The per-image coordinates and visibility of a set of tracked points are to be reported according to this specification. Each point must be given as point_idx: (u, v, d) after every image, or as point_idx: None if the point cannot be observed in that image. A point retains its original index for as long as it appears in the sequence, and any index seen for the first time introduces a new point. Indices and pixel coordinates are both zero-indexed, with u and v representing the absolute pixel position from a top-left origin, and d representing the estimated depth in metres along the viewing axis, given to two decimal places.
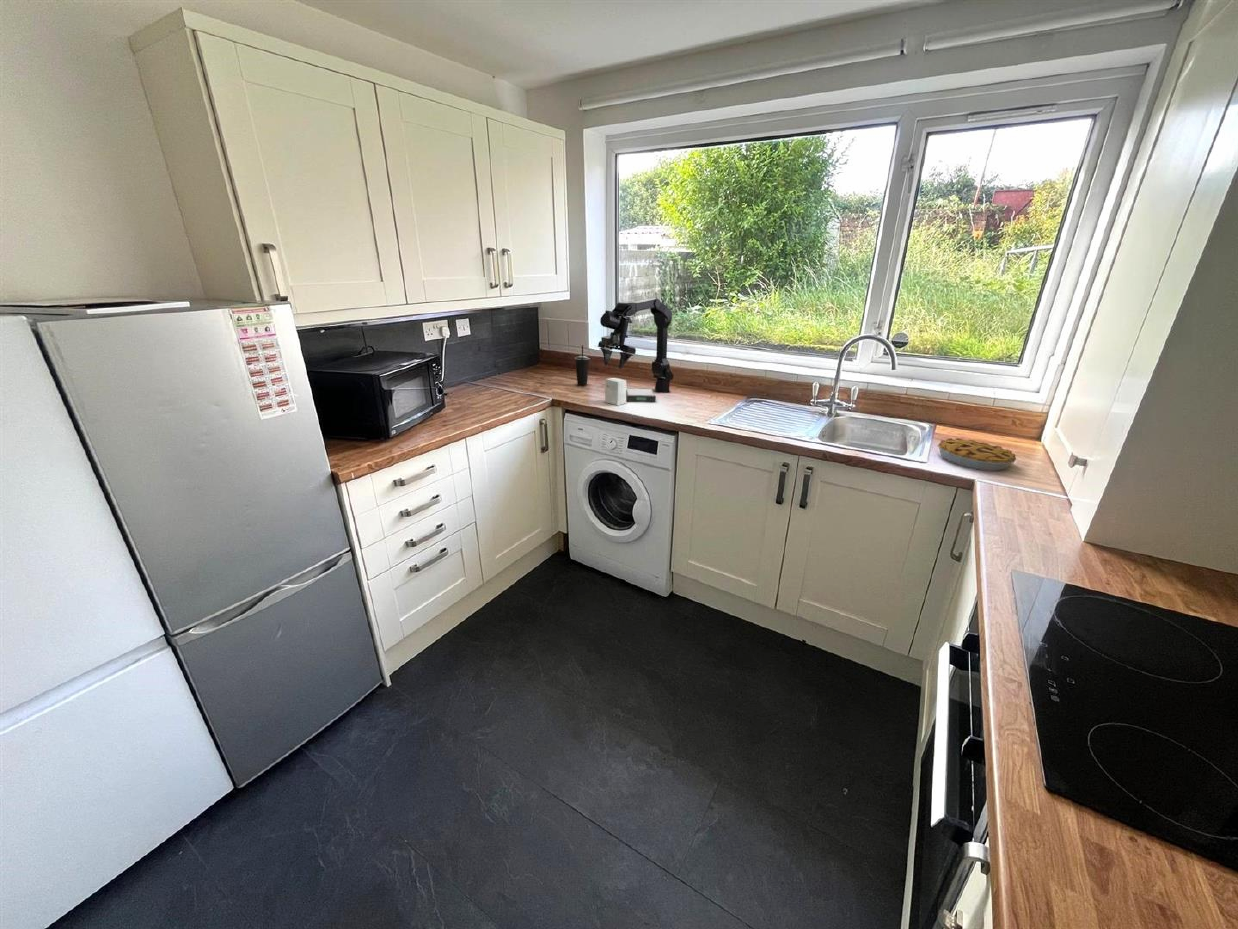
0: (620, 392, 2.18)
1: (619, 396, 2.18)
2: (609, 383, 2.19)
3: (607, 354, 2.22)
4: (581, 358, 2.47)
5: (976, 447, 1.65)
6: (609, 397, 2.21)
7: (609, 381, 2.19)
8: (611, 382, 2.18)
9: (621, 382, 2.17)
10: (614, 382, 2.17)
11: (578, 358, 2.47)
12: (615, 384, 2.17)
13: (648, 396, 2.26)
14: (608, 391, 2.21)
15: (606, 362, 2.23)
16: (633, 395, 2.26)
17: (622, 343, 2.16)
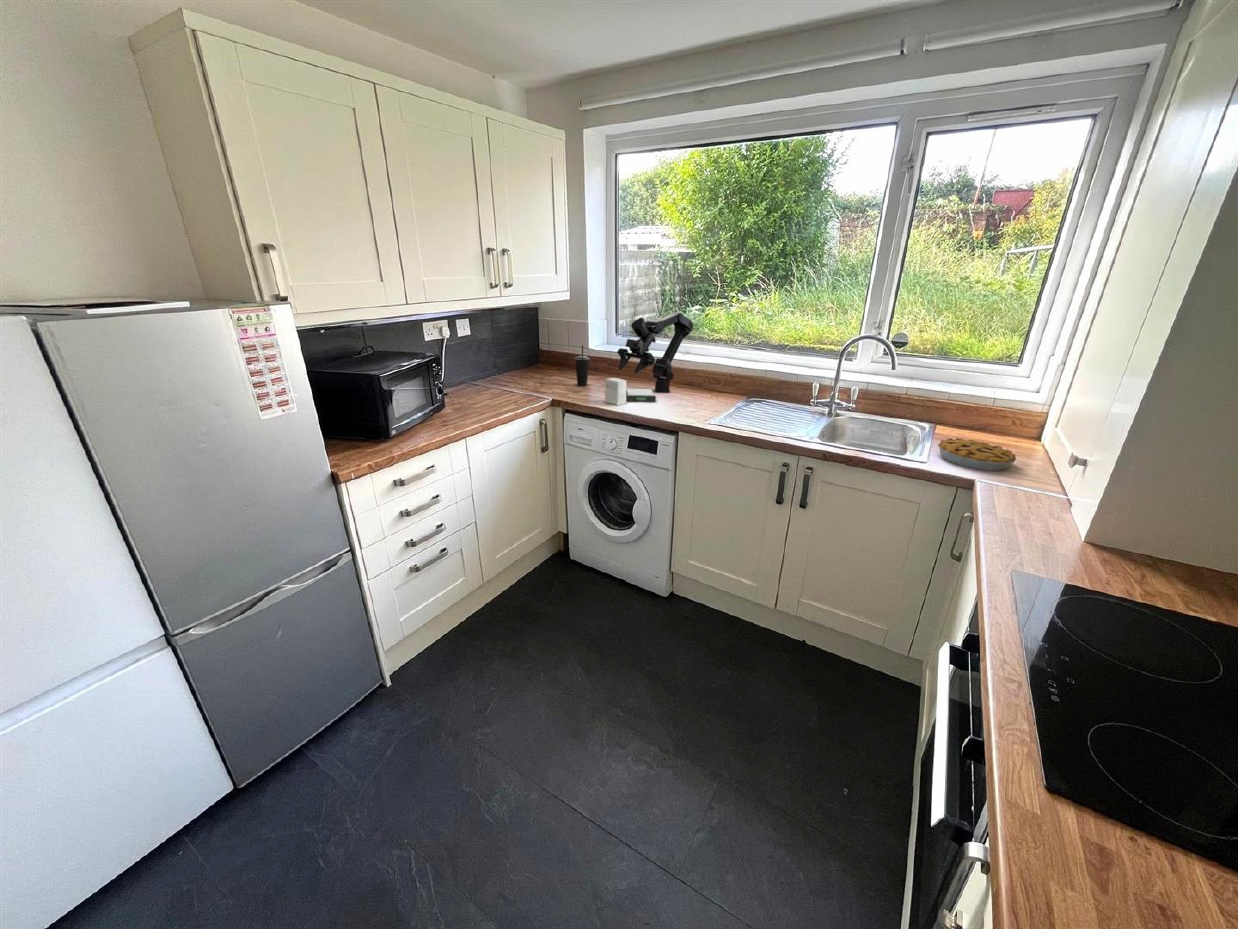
0: (620, 392, 2.18)
1: (619, 396, 2.18)
2: (609, 383, 2.19)
3: (624, 361, 2.28)
4: (581, 358, 2.47)
5: (976, 447, 1.65)
6: (609, 397, 2.21)
7: (609, 381, 2.19)
8: (611, 382, 2.18)
9: (621, 382, 2.17)
10: (614, 382, 2.17)
11: (578, 358, 2.47)
12: (615, 384, 2.17)
13: (648, 396, 2.26)
14: (608, 391, 2.21)
15: (621, 367, 2.27)
16: (633, 395, 2.26)
17: (643, 353, 2.25)
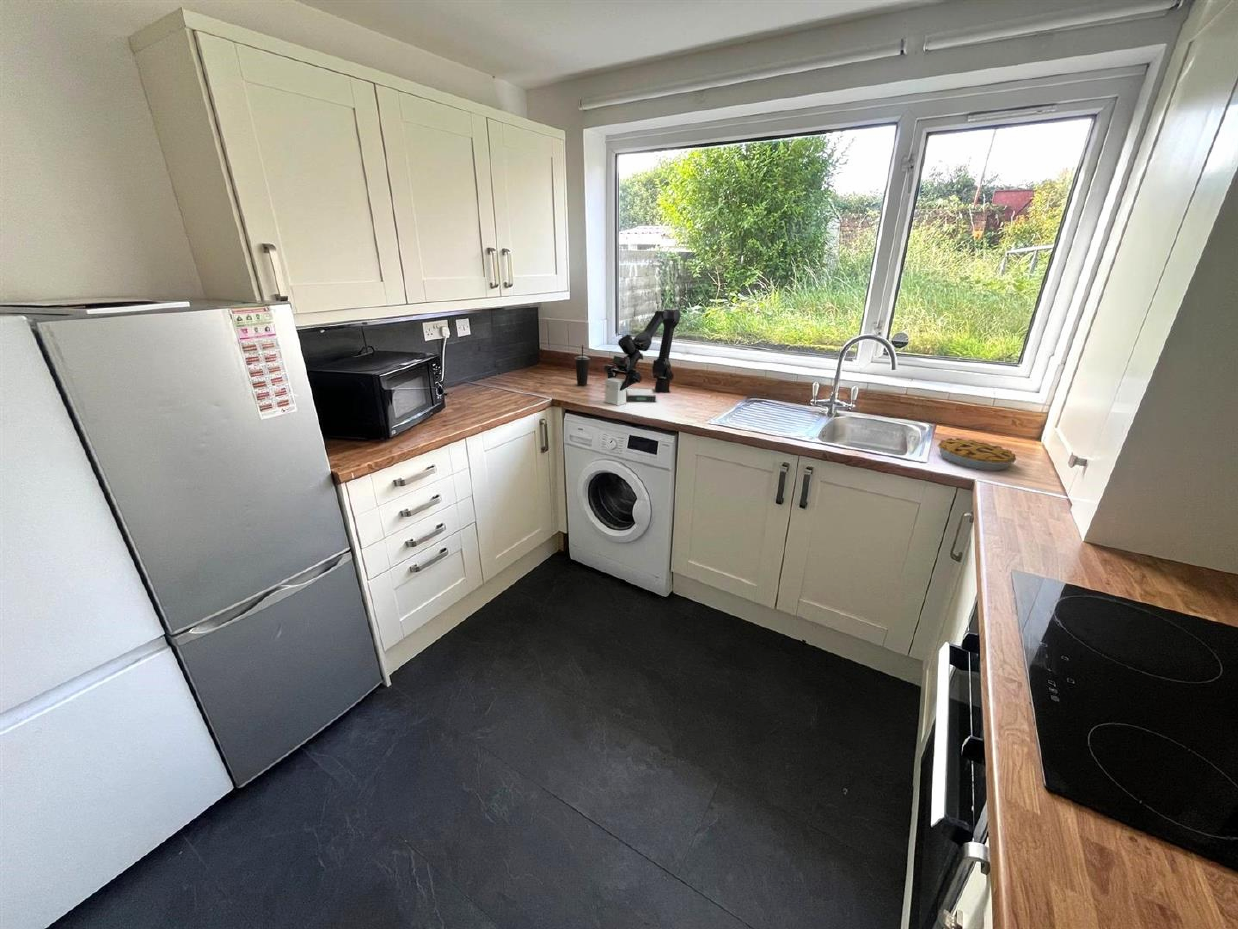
0: (620, 392, 2.18)
1: (619, 396, 2.18)
2: (609, 383, 2.19)
3: None
4: (581, 358, 2.47)
5: (976, 447, 1.65)
6: (609, 397, 2.21)
7: (609, 381, 2.19)
8: (611, 382, 2.18)
9: (621, 382, 2.17)
10: (614, 382, 2.17)
11: (578, 358, 2.47)
12: (615, 384, 2.17)
13: (648, 396, 2.26)
14: (608, 391, 2.21)
15: None
16: (633, 395, 2.26)
17: (630, 370, 2.21)
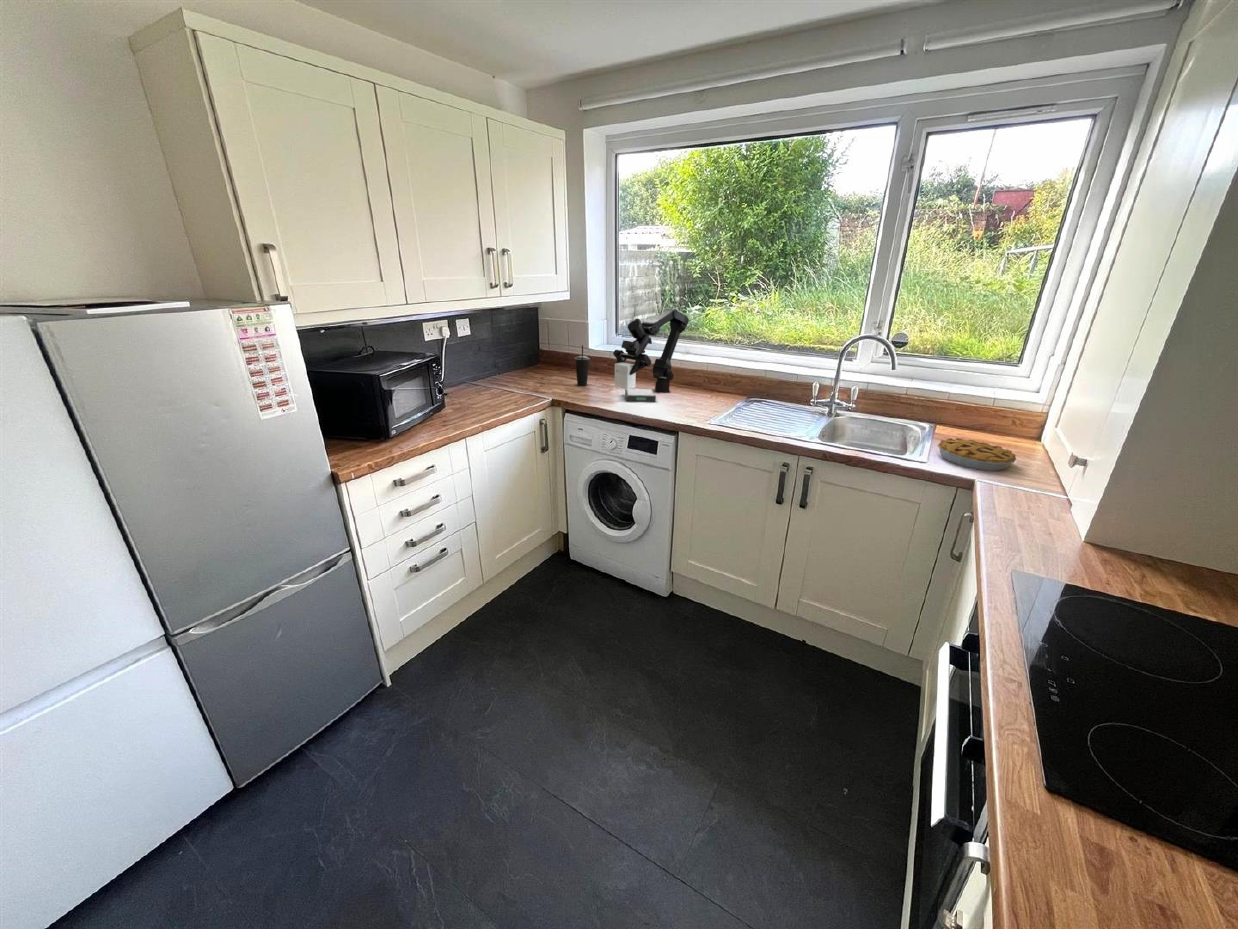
0: (629, 376, 2.19)
1: (629, 380, 2.19)
2: (618, 367, 2.20)
3: (620, 362, 2.25)
4: (581, 358, 2.47)
5: (976, 447, 1.65)
6: (618, 382, 2.22)
7: (618, 366, 2.20)
8: (621, 367, 2.19)
9: (631, 366, 2.18)
10: (624, 366, 2.18)
11: (578, 358, 2.47)
12: (625, 368, 2.17)
13: (648, 396, 2.26)
14: (617, 376, 2.22)
15: None
16: (633, 395, 2.26)
17: (639, 354, 2.22)
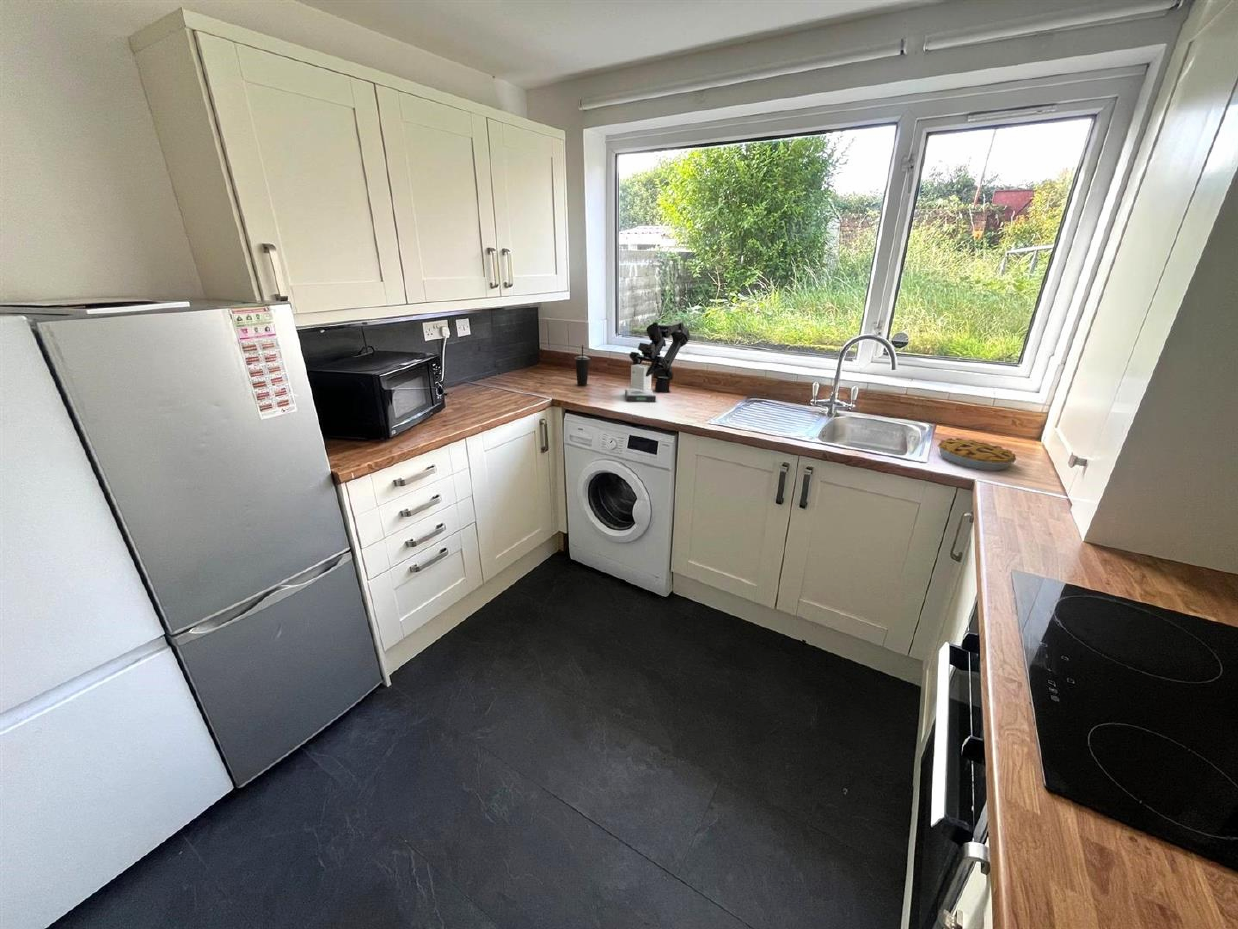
0: (645, 378, 2.25)
1: (645, 382, 2.26)
2: (635, 369, 2.27)
3: None
4: (581, 358, 2.47)
5: (976, 447, 1.65)
6: (634, 383, 2.29)
7: (635, 367, 2.26)
8: (637, 368, 2.25)
9: (647, 368, 2.24)
10: (640, 368, 2.24)
11: (578, 358, 2.47)
12: (641, 370, 2.24)
13: (648, 396, 2.26)
14: (634, 377, 2.28)
15: None
16: (633, 395, 2.26)
17: (655, 356, 2.28)
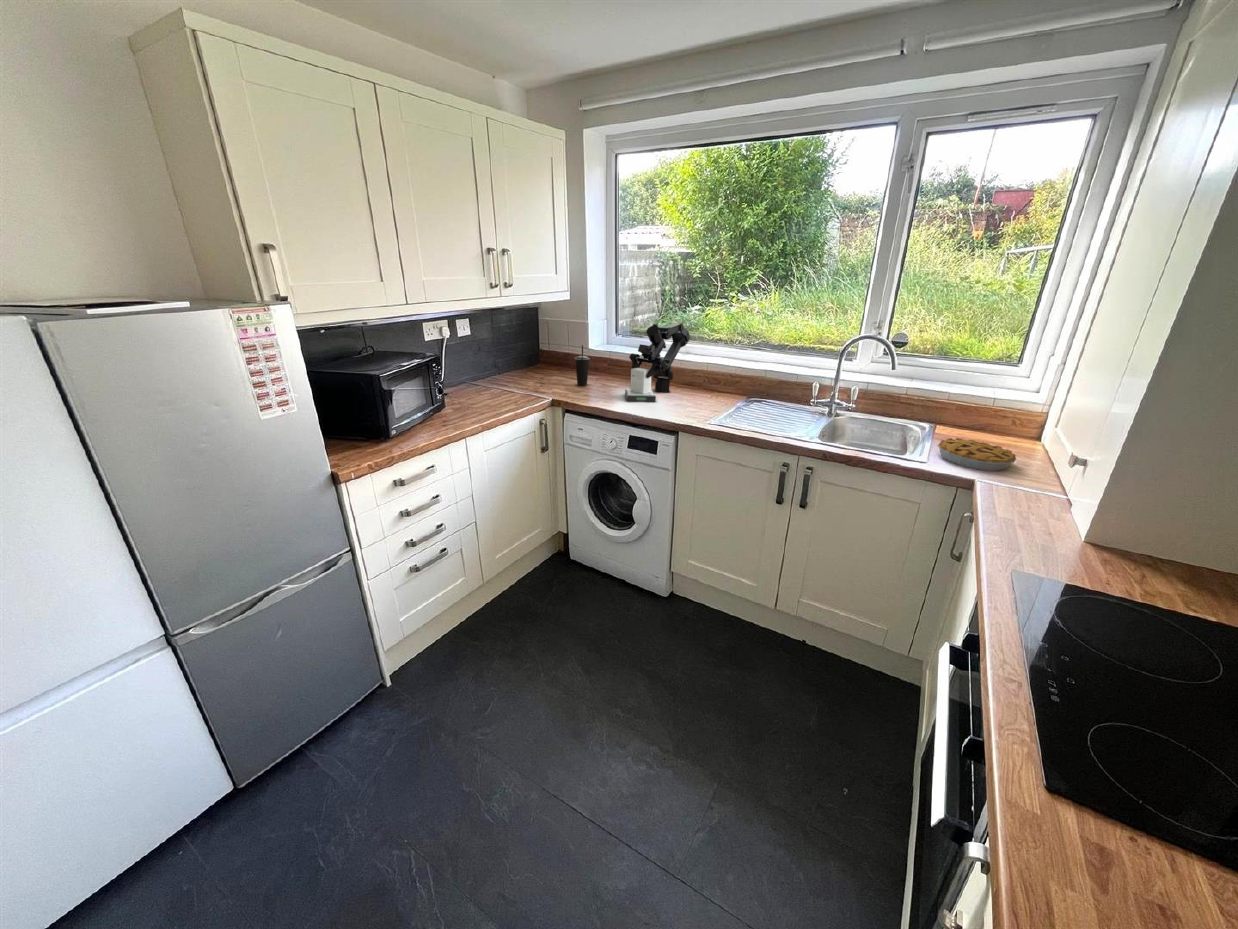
0: (645, 381, 2.26)
1: (645, 385, 2.27)
2: (635, 372, 2.27)
3: (635, 366, 2.32)
4: (581, 358, 2.47)
5: (976, 447, 1.65)
6: (634, 386, 2.29)
7: (635, 371, 2.27)
8: (637, 372, 2.26)
9: (647, 371, 2.25)
10: (640, 371, 2.25)
11: (578, 358, 2.47)
12: (641, 373, 2.25)
13: (648, 396, 2.26)
14: (633, 381, 2.29)
15: None
16: (633, 395, 2.26)
17: (655, 358, 2.29)
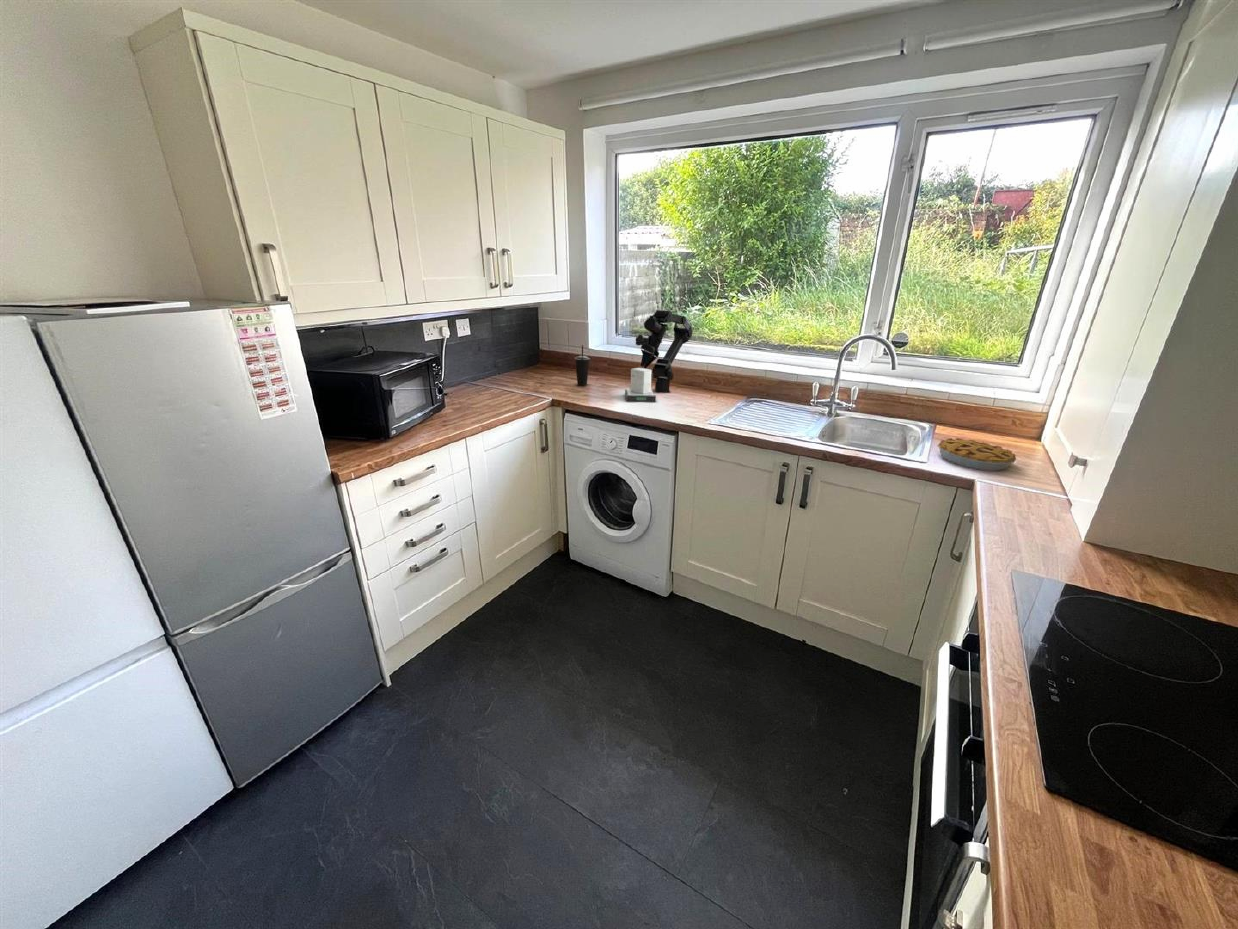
0: (645, 381, 2.26)
1: (645, 385, 2.27)
2: (635, 372, 2.27)
3: (648, 358, 2.39)
4: (581, 358, 2.47)
5: (976, 447, 1.65)
6: (634, 386, 2.29)
7: (635, 371, 2.27)
8: (637, 372, 2.26)
9: (647, 371, 2.25)
10: (640, 371, 2.25)
11: (578, 358, 2.47)
12: (641, 373, 2.25)
13: (648, 396, 2.26)
14: (633, 381, 2.29)
15: (645, 365, 2.39)
16: (633, 395, 2.26)
17: (652, 345, 2.31)
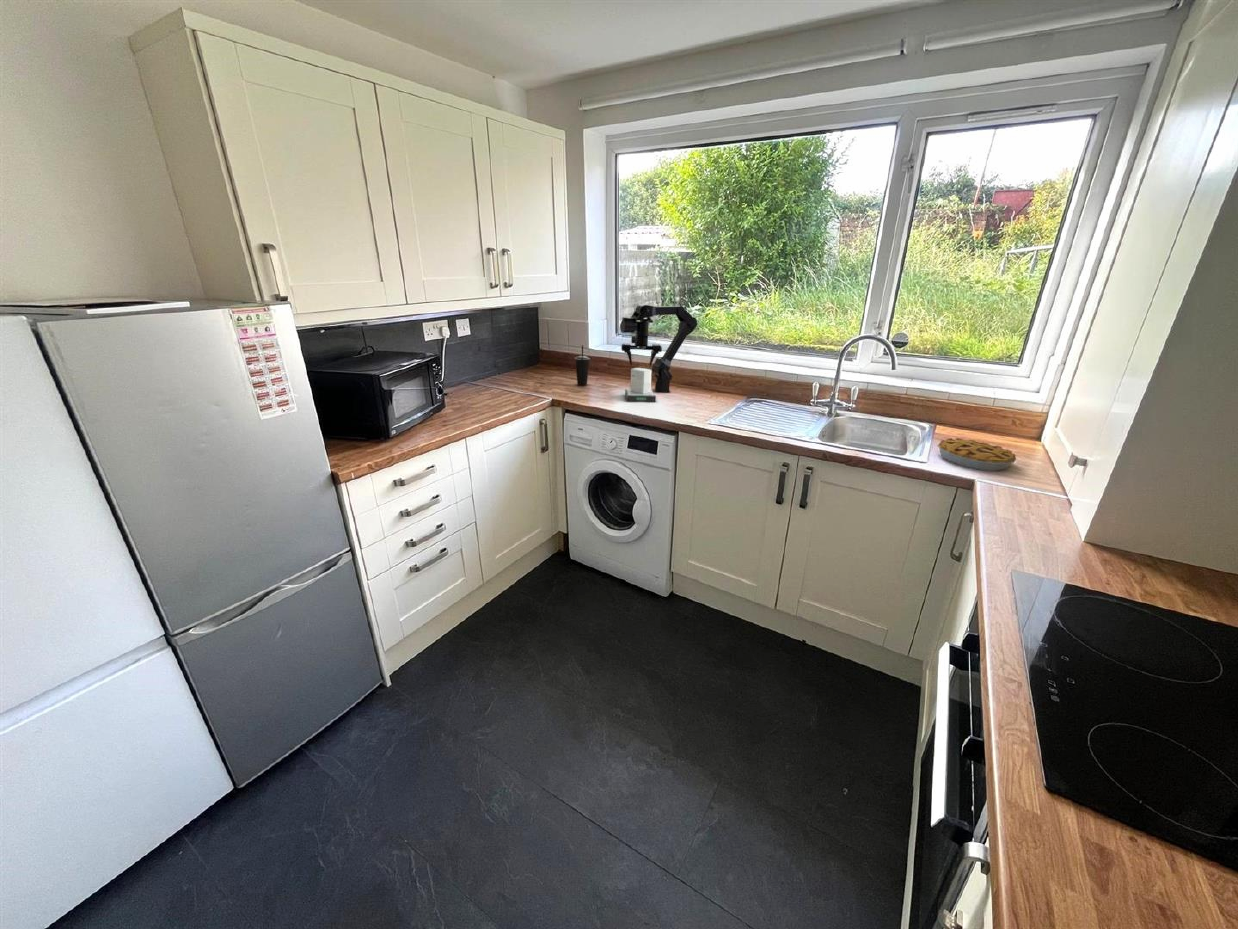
0: (645, 381, 2.26)
1: (645, 385, 2.27)
2: (635, 372, 2.27)
3: (651, 355, 2.38)
4: (581, 358, 2.47)
5: (976, 447, 1.65)
6: (634, 386, 2.29)
7: (635, 371, 2.27)
8: (637, 372, 2.26)
9: (647, 371, 2.25)
10: (640, 371, 2.25)
11: (578, 358, 2.47)
12: (641, 373, 2.25)
13: (648, 396, 2.26)
14: (633, 381, 2.29)
15: None
16: (633, 395, 2.26)
17: (635, 342, 2.35)
